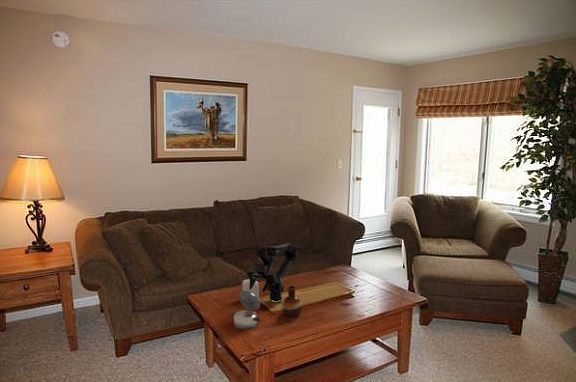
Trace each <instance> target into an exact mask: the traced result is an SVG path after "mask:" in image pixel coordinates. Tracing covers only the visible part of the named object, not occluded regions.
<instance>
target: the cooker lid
mask: <svg viewBox="0 0 576 382" xmlns="http://www.w3.org/2000/svg"><path fill="white" fill-rule="evenodd" d="M237 298H238V301H239V302H240V303H241V305H242V306H243V307H245V308H247V309H248V310H251V311H256V310H258V309H259V308H260V307H261V302H260V298H259V299H258V298H257V297H256V296H255V295H254V294H252V293H251V292H248V291H243V290H241V291H240V292H239V293H238V296H237Z"/></svg>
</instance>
